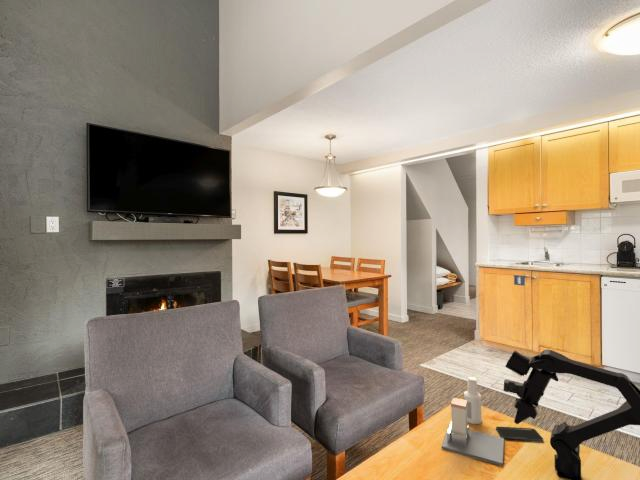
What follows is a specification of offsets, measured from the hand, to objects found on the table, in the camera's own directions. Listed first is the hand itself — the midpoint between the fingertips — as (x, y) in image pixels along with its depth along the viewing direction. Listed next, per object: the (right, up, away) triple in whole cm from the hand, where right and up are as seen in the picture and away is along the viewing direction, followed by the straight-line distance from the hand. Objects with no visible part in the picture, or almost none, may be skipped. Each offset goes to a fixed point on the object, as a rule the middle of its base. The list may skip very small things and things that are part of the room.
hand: (515, 423), depth 119 cm
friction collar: (-15, -12, +12) cm, 23 cm away
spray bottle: (-3, -13, +26) cm, 30 cm away
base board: (-10, -13, +10) cm, 20 cm away
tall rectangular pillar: (-15, -12, +12) cm, 23 cm away
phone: (+10, -14, +15) cm, 23 cm away
